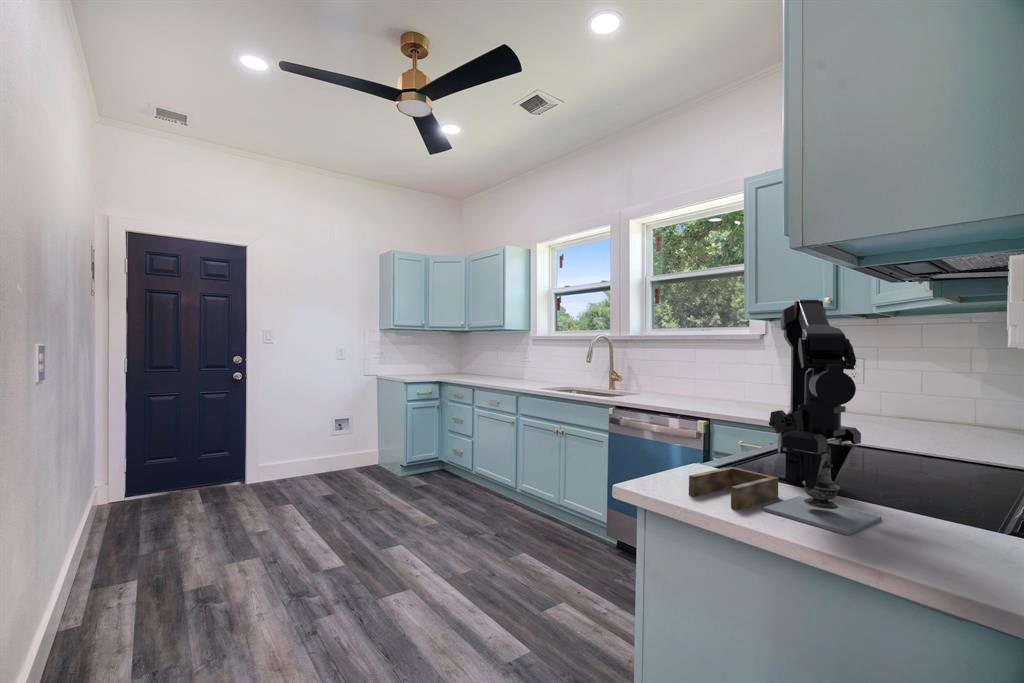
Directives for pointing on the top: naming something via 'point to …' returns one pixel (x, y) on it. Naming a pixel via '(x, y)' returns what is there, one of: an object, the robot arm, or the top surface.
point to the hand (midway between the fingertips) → (821, 484)
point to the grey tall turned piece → (823, 487)
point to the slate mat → (823, 515)
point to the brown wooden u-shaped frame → (736, 485)
